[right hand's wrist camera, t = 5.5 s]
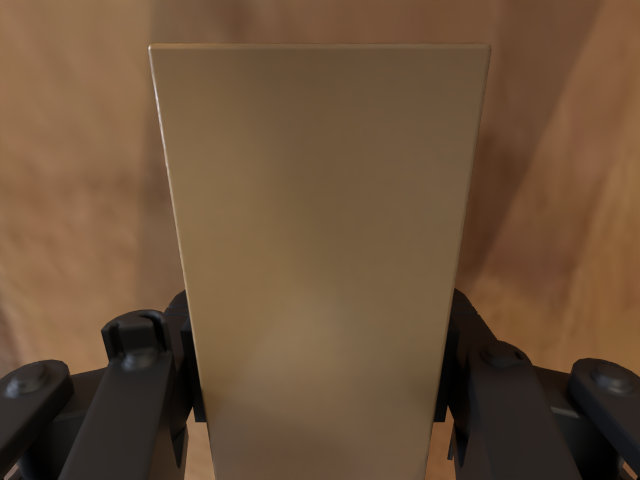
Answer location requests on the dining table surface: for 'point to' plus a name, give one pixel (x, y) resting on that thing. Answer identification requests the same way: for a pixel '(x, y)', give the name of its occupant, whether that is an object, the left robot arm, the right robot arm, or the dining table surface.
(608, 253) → the dining table surface
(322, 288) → the plank
